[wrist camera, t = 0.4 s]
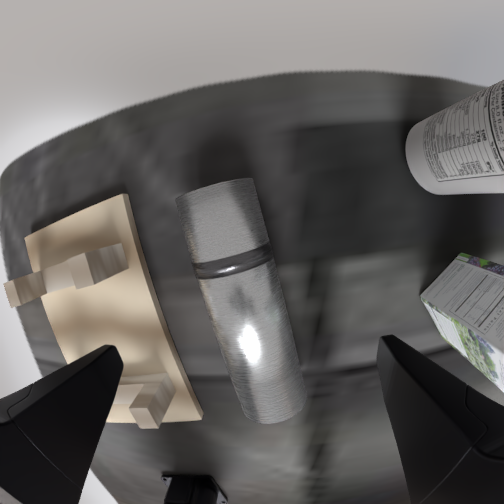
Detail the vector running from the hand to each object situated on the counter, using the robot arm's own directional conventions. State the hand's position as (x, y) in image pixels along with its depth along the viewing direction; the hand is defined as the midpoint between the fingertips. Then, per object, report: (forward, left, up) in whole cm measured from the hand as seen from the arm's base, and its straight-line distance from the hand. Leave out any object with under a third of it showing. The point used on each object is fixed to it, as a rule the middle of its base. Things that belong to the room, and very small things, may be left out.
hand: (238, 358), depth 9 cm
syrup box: (-7, -16, -13) cm, 22 cm away
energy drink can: (+5, -16, -13) cm, 21 cm away
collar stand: (-2, +14, -12) cm, 19 cm away
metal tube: (-2, +1, -12) cm, 13 cm away
